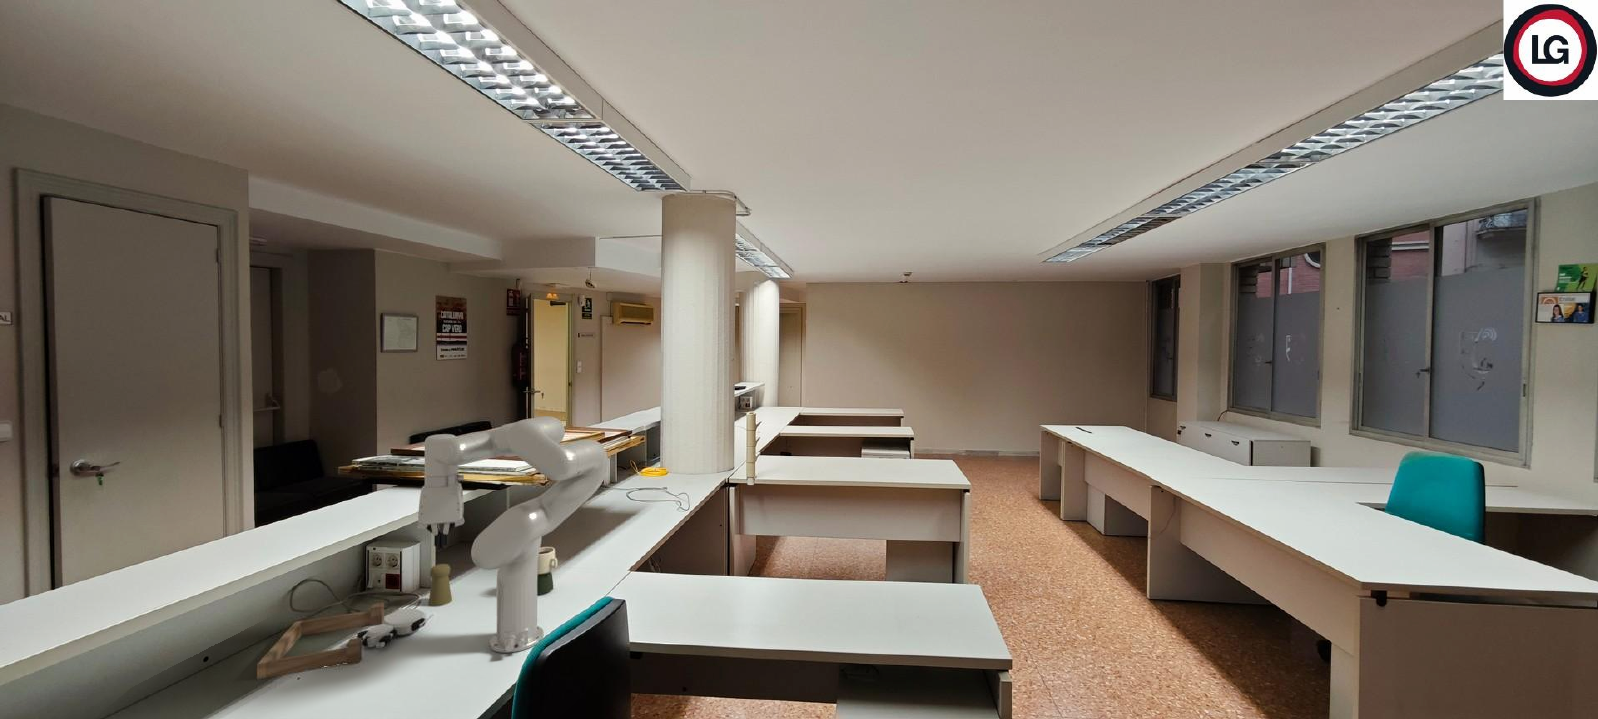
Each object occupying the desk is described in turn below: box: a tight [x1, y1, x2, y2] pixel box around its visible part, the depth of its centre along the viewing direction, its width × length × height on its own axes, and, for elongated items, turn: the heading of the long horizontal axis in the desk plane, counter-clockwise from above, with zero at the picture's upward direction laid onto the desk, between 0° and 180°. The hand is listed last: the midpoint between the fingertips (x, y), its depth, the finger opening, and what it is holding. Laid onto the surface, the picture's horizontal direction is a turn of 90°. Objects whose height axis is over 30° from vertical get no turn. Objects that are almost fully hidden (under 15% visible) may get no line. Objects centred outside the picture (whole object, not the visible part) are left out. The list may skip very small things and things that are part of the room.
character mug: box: [537, 546, 558, 595], centre depth 178 cm, size 11×7×13 cm, turn 72°
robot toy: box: [349, 607, 435, 649], centre depth 150 cm, size 12×4×15 cm
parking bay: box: [256, 602, 385, 680], centre depth 144 cm, size 23×19×5 cm
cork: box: [427, 563, 453, 607], centre depth 170 cm, size 6×6×11 cm
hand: (441, 547), depth 154 cm, fingers closed
